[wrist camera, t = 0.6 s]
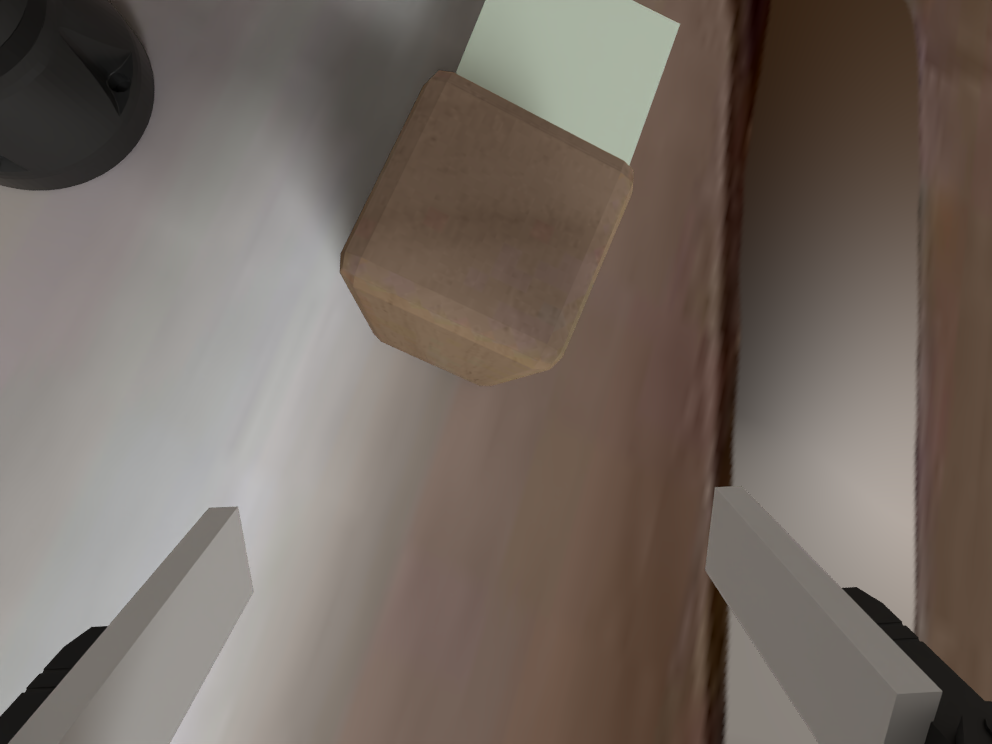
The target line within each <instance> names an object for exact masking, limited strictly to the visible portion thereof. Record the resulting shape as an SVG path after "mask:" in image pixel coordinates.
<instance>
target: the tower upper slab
mask: <svg viewBox="0 0 992 744" xmlns="http://www.w3.org/2000/svg"><path fill="white" fill-rule="evenodd" d="M679 26H680V24H679V23H677V22H675V21H673V20H671V19H669V18H667V17H665V16H663V15H661V14H659V13H657V12H655V11H653V10H651V9H649V8H647V7H644V6H642V5H640V4H638V3H636V2H634V1H632V0H485V3H484V5H483V8H482V10H481V12H480V15H479V17H478V20H477V22H476V25H475V27H474V30H473V32H472V34H471V37H470V39H469V42H468V44H467V47H466V49H465V52H464V54H463V56H462V59H461V61H460V64H459V66H458V69H457V71H456V74H458V75H460V76H462V77H464V78H466V79H467V80H469V81H471V82H473V83H475V84H477V85H479V86H481V87H483V88H485V89H487V90H489V91H491V92H492V93H494V94H496V95H498V96H500V97H502V98H504V99H506V100H508V101H510V102H512V103H514V104H516V105H518V106H519V107H521V108H523V109H525V110H527V111H529V112H531V113H533V114H535V115H537V116H539V117H541V118H543V119H545V120H546V121H548V122H550V123H552V124H554V125H556V126H558V127H560V128H562V129H564V130H566V131H568V132H570V133H571V134H573V135H575V136H577V137H579V138H581V139H583V140H585V141H587V142H589V143H591V144H593V145H595V146H597V147H598V148H600V149H602V150H604V151H606V152H608V153H610V154H612V155H614V156H616V157H618V158H620V159H622V160H624V161H625V162H626V163H627V164H628V165H630V162H631V159H632V156H633V154H634V151H635V148H636V145H637V142H638V140H639V137H640V134H641V131H642V129H643V126H644V123H645V120H646V117H647V115H648V112H649V109H650V106H651V103H652V101H653V98H654V95H655V92H656V90H657V87H658V84H659V81H660V78H661V76H662V73H663V70H664V67H665V65H666V62H667V59H668V56H669V53H670V51H671V48H672V45H673V42H674V39H675V37H676V34H677V31H678V28H679Z"/></svg>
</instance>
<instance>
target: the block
mask: <svg viewBox="0 0 992 744" xmlns="http://www.w3.org/2000/svg"><path fill="white" fill-rule="evenodd" d="M633 177H634V171H633V170H632V168H631V167H630V166H629V165H628V164H627V163H626V162H625V161H624V160H622V159H620V158H618V157H616V156H614V155H612V154H610V153H608V152H606V151H604V150H602V149H600V148H598V147H597V146H595V145H593V144H591V143H589V142H587V141H585V140H583V139H581V138H579V137H577V136H575V135H573V134H571V133H570V132H568V131H566V130H564V129H562V128H560V127H558V126H556V125H554V124H552V123H550V122H548V121H546V120H545V119H543V118H541V117H539V116H537V115H535V114H533V113H531V112H529V111H527V110H525V109H523V108H521V107H519V106H518V105H516V104H514V103H512V102H510V101H508V100H506V99H504V98H502V97H500V96H498V95H496V94H494V93H492V92H491V91H489V90H487V89H485V88H483V87H481V86H479V85H477V84H475V83H473V82H471V81H469V80H467V79H466V78H464V77H462V76H460V75H458V74H456V73H454V72H449V71H442V70H439V71H438V72H437V73H436V74H434V75H433V76H432V77H431V78H430V79H429V80H428V81H427V82H426V83H425V84H424V85H423V87H422V89H421V91H420V94H419V96H418V98H417V100H416V102H415V104H414V106H413V108H412V110H411V112H410V114H409V116H408V118H407V120H406V122H405V124H404V126H403V128H402V130H401V132H400V134H399V136H398V138H397V140H396V142H395V144H394V146H393V148H392V150H391V152H390V154H389V157H388V159H387V161H386V163H385V165H384V167H383V169H382V171H381V173H380V175H379V177H378V179H377V181H376V183H375V185H374V187H373V189H372V191H371V193H370V195H369V197H368V199H367V201H366V203H365V205H364V207H363V209H362V211H361V213H360V215H359V217H358V220H357V222H356V224H355V226H354V228H353V230H352V232H351V234H350V236H349V238H348V240H347V242H346V244H345V246H344V248H343V250H342V252H341V258H340V274H341V275H342V277H343V279H344V281H345V283H346V284H347V286H348V288H349V290H350V292H351V294H352V295H353V297H354V299H355V301H356V303H357V304H358V306H359V308H360V310H361V312H362V313H363V315H364V317H365V319H366V321H367V322H368V324H369V326H370V328H371V330H372V331H373V333H374V335H375V336H376V337H377V338H378V339H379V340H380V341H381V342H383V343H386V344H388V345H390V346H392V347H395V348H397V349H399V350H401V351H403V352H406V353H408V354H410V355H412V356H415V357H417V358H419V359H421V360H423V361H426V362H428V363H430V364H432V365H435V366H437V367H439V368H441V369H443V370H446V371H448V372H450V373H452V374H455V375H457V376H459V377H461V378H463V379H466V380H468V381H470V382H472V383H475V384H477V385H479V386H493V385H496V384H500V383H503V382H507V381H510V380H514V379H517V378H521V377H525V376H528V375H532V374H535V373H539V372H542V371H546V370H550V369H551V368H552V367H553V366H554V365H555V364H556V363H557V362H558V361H559V360H560V359H561V358H562V357H563V355H564V353H565V350H566V348H567V346H568V343H569V341H570V338H571V336H572V334H573V331H574V329H575V327H576V324H577V322H578V320H579V317H580V315H581V312H582V310H583V308H584V305H585V303H586V301H587V298H588V296H589V294H590V291H591V289H592V286H593V284H594V282H595V279H596V277H597V275H598V272H599V270H600V268H601V265H602V263H603V261H604V258H605V256H606V253H607V251H608V249H609V246H610V244H611V242H612V239H613V237H614V235H615V232H616V230H617V227H618V225H619V223H620V220H621V218H622V216H623V213H624V211H625V209H626V206H627V204H628V201H629V199H630V197H631V194H632V190H633Z"/></svg>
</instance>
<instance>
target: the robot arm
mask: <svg viewBox="0 0 992 744" xmlns="http://www.w3.org/2000/svg"><path fill="white" fill-rule="evenodd" d="M153 100H154V82H153V75H152V70H151V66H150V63H149V60H148V57H147V55H146V52H145V50H144V48H143V46H142V44H141V43H140V41H139V40H138V38H137V36H136V35H135V34H134V32H133V31H132V30H131V28H130V27H129V26H128V24H127V23H126V22H125V20H124V19H123V18H122V16H121V15H120V14H119V12H118V11H117V10H116V9H115V8H114V7H113V5H112V4H111V3H110V2H109V1H108V0H0V185H2V186H6V187H11V188H16V189H23V190H54V189H61V188H67V187H71V186H75V185H78V184H81V183H84V182H87V181H89V180H92V179H94V178H96V177H98V176H100V175H102V174H104V173H105V172H107V171H109V170H110V169H112V168H113V167H114V166H116V165H117V164H118V163H119V162H121V161H122V160H123V159H124V158H125V157H126V156H127V155H128V154H129V153H130V152H131V151H132V149H133V148H134V147H135V146H136V144H137V143H138V141H139V140H140V138H141V137H142V135H143V133H144V131H145V129H146V127H147V124H148V122H149V119H150V116H151V112H152V107H153ZM705 570H706V572H707V574H708V575H709V577H710V578H711V580H712V581H713V583H714V584H715V586H716V587H717V589H718V590H719V592H720V593H721V595H722V597H723V598H724V600H725V601H726V603H727V604H728V606H729V607H730V609H731V610H732V612H733V613H734V615H735V616H736V618H737V620H738V621H739V623H740V624H741V626H742V627H743V629H744V630H745V632H746V633H747V635H748V636H749V638H750V639H751V641H752V643H753V644H754V645H755V647H756V648H757V650H758V652H759V653H760V655H761V656H762V658H763V659H764V661H765V662H766V664H767V666H768V667H769V669H770V670H771V672H772V673H773V675H774V676H775V678H776V679H777V681H778V682H779V684H780V685H781V687H782V689H783V690H784V691H785V693H786V695H787V696H788V698H789V699H790V701H791V702H792V704H793V705H794V707H795V708H796V710H797V712H798V713H799V715H800V716H801V718H802V719H803V721H804V722H805V724H806V725H807V727H808V728H809V730H810V731H811V733H812V735H813V736H814V737H815V739H816V741H817V742H818V744H992V702H991V701H984V700H983V699H982V698H981V697H980V696H979V695H978V694H977V693H976V692H975V691H974V690H973V689H972V688H971V687H969V686H968V685H967V684H966V683H965V682H964V681H963V680H962V679H961V678H960V677H959V676H958V675H957V674H956V673H955V672H954V671H953V670H952V669H951V668H950V667H949V666H948V665H947V664H945V663H944V662H943V661H942V660H941V659H940V658H939V657H938V656H937V655H936V654H935V653H934V652H933V651H932V650H931V649H930V648H929V647H928V646H927V645H926V644H925V643H924V642H920V641H919V639H918V637H917V636H916V635H915V634H914V633H913V632H912V631H911V630H910V629H909V628H908V627H907V626H903V625H902V621H901V620H899V618H897V617H896V616H895V615H894V614H893V613H892V612H891V611H890V610H889V609H888V608H887V607H886V606H885V605H884V604H883V603H881V602H880V601H878V600H877V599H875V598H873V597H871V596H870V595H868V594H867V593H865V592H864V591H862V590H860V589H859V588H857V587H852V588H841V587H840V586H839V585H838V584H837V583H836V582H835V581H834V580H833V579H832V578H831V577H830V576H829V575H828V574H827V573H826V572H825V571H824V570H823V569H822V568H821V567H820V566H819V565H818V564H817V563H816V561H815V560H814V559H813V558H812V557H811V556H810V555H809V554H808V553H807V552H806V551H805V550H804V549H803V548H802V547H801V546H800V545H799V544H798V543H797V542H796V541H795V540H794V539H793V538H792V537H791V536H790V535H789V534H788V533H787V532H786V531H785V530H784V529H783V528H782V527H781V526H780V525H779V524H778V523H777V522H776V521H775V520H774V519H773V518H772V516H771V515H770V514H769V513H768V512H767V511H766V510H765V509H764V508H763V507H761V505H760V504H759V503H758V502H757V501H756V500H755V499H754V498H753V497H752V496H751V495H750V494H749V493H748V492H747V491H746V490H745V489H744V488H743V487H742V486H733V487H715V493H714V501H713V510H712V518H711V526H710V534H709V543H708V551H707V559H706V568H705ZM253 592H254V591H253V586H252V580H251V575H250V569H249V564H248V558H247V553H246V547H245V542H244V537H243V531H242V526H241V520H240V515H239V509H238V507H219V508H209V509H208V510H207V511H206V512H205V513H204V514H203V516H202V517H201V518H200V519H199V520H198V521H197V523H196V524H195V525H194V526H193V527H192V528H191V530H190V531H189V532H188V533H187V534H186V535H185V537H184V538H183V539H182V540H181V541H180V543H179V544H178V545H177V546H176V547H175V548H174V550H173V551H172V552H171V553H170V554H169V555H168V557H167V558H166V559H165V560H164V561H163V562H162V564H161V565H160V566H159V567H158V568H157V569H156V571H155V572H154V573H153V574H152V575H151V576H150V578H149V579H148V580H147V581H146V582H145V584H144V585H143V586H142V587H141V588H140V589H139V591H138V592H137V593H136V594H135V595H134V596H133V598H132V599H131V600H130V601H129V602H128V603H127V605H126V606H125V607H124V608H123V609H122V610H121V612H120V613H119V614H118V615H117V616H116V618H115V619H114V620H113V621H112V622H111V623H110V625H109V626H103V627H91V628H90V629H88V630H87V631H85V632H84V633H83V634H81V635H80V636H78V637H77V638H76V639H74V640H73V641H71V642H70V643H69V644H67V645H66V646H64V647H63V648H62V650H61V651H60V652H59V653H58V654H57V655H56V656H55V657H54V658H53V659H52V661H51V662H50V663H49V664H48V665H47V666H46V667H45V668H44V671H43V673H42V674H39V675H38V676H37V677H36V678H35V679H34V680H33V681H32V682H31V684H30V685H29V686H28V687H27V690H26V692H25V693H21V694H20V696H19V697H18V698H17V699H16V700H15V701H14V702H13V703H12V704H11V705H10V707H9V708H8V709H7V710H6V711H5V712H4V713H3V714H2V715H1V716H0V744H170V742H171V740H172V738H173V737H174V735H175V733H176V731H177V729H178V727H179V726H180V724H181V722H182V720H183V718H184V717H185V715H186V713H187V711H188V709H189V708H190V706H191V704H192V702H193V700H194V699H195V697H196V695H197V693H198V691H199V689H200V688H201V686H202V684H203V682H204V680H205V679H206V677H207V675H208V673H209V671H210V670H211V668H212V666H213V664H214V662H215V661H216V659H217V657H218V655H219V653H220V652H221V650H222V648H223V646H224V644H225V642H226V641H227V639H228V637H229V635H230V633H231V632H232V630H233V628H234V626H235V624H236V623H237V621H238V619H239V617H240V615H241V614H242V612H243V610H244V608H245V606H246V604H247V603H248V601H249V599H250V597H251V595H252V594H253Z"/></svg>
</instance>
